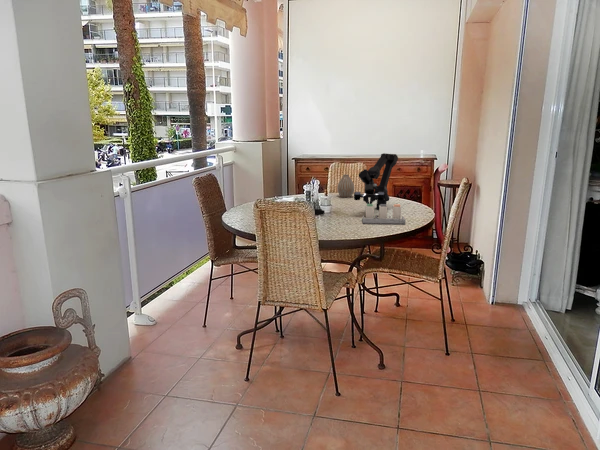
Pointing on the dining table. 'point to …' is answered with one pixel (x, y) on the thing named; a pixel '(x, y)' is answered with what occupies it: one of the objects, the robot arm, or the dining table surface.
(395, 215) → the key
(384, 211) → the key
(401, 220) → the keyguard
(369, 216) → the key
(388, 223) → the key mat
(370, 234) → the dining table surface
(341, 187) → the vase
